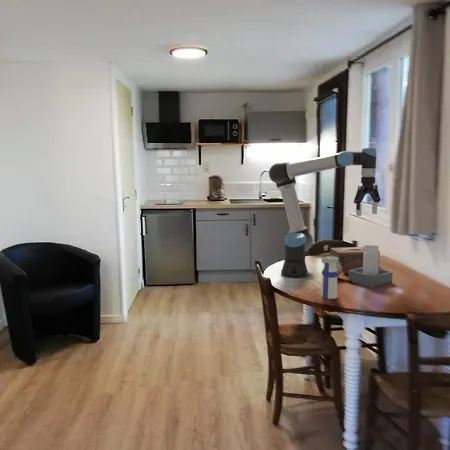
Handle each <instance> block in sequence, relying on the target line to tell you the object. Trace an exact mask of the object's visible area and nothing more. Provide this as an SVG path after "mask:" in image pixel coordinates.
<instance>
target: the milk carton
mask: <svg viewBox="0 0 450 450" xmlns="http://www.w3.org/2000/svg"><path fill="white" fill-rule="evenodd" d="M363 247H364V256H363V273H364V274H368V275H372V276H375V275H378V269H379V267H378V264H379V265H380V258H379V251H380V250H379V245H371V244H369V245H367V244H365V245H364V246H363Z"/></svg>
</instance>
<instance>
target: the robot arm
mask: <svg viewBox="0 0 450 450" xmlns="http://www.w3.org/2000/svg"><path fill="white" fill-rule="evenodd" d="M349 166H361V167H360V168H361V171H360V175H361V177H360V184H361V185H358V186H357V190H356V193H355V197H354V199H353V203H354V204H356V208H355V211H356V212H355V213H356V215H355V216H357V217H362V209H363V208H362V207H363V206H362V202H363V200H364V199H365V197H366V195H367V194H369V196H370V197H371V199H372V204H371V206H372V207H371V214H372V215H377V214H378V206H379V205H378V204H379V203H380V201H381V196H380V193H379V190H378V189H379V188H378V187H379V186H378V184H376V173H377V172H376V170H377V148H376V147H363V148H362V150H360V151H349V150H344V151H340V152H337V153H333V154H328V155H325V156H320V157H316V158H314V157H313V158H311V159H307V160H305V159H304V160H301V161H296V162H293V163H290V162H288V161H287V162H280V163H279V162H278V163H274V164H273V165H271V166H270V168H269V171H268V176H269V179H270V181H271V182H273V183H275V184H276V185H275V186H276V188H277V189H278V190H279V191H280V195H281V197H282V203H283V206H284V209H285V213H286V217H287V221H288V226H289V231H288V233H287V234H286V235H285V236H284V261H283V265H282V269H281V271H280V272H281V273H280V275H281V276H282V277H285V278H290V279H291V278H292V279H301V278H302V279H303V278H307V277H308V276H309V272H308V268H307V267H308V266H307V263H306V252H308V251H309V250H310V249H311V248H312V246H313V242H314V240H313V239H314V238H313V236H312V234H311V233H310V231H309V228H308V227H307V226H306V225H305V223H304V219H303V214H302V210H301V207H300V203H299V199H298V195H297V191H296V188H295V187H296V184H297V181H296V177H300V176H305V175H309V174H313V173H314V174H315V173H319V172H323V171H328V170H333V169H338V168H343V167H349Z"/></svg>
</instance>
